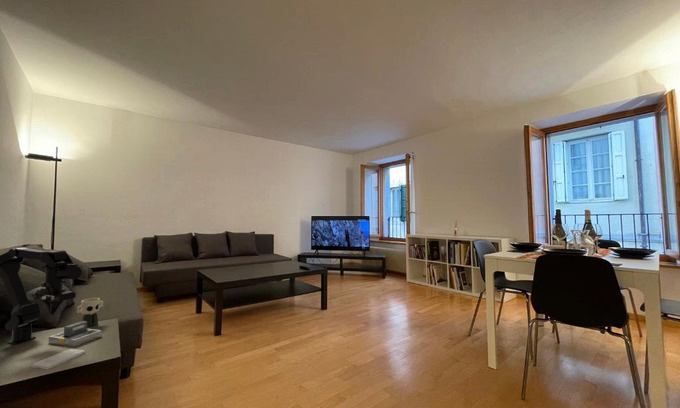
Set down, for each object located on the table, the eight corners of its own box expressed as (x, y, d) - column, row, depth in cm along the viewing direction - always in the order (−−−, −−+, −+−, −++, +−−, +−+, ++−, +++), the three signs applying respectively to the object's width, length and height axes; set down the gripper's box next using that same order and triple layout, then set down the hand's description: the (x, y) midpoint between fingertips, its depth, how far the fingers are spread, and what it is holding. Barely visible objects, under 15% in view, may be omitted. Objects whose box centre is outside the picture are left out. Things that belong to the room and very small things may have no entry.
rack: (47, 343, 121) (48, 336, 121) (76, 333, 131) (76, 327, 132) (73, 347, 117) (74, 340, 117) (101, 336, 128) (101, 330, 128)
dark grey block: (63, 340, 121) (64, 326, 122) (81, 334, 128) (82, 321, 129) (68, 341, 121) (69, 327, 121) (86, 334, 128) (87, 321, 128)
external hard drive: (85, 354, 112) (46, 371, 100) (69, 352, 114) (30, 368, 102) (85, 350, 112) (47, 366, 100) (69, 348, 114) (30, 363, 102)
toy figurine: (79, 330, 134) (81, 303, 135) (72, 328, 137) (73, 301, 138) (106, 323, 144) (107, 297, 145) (98, 321, 147) (99, 296, 148)
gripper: (14, 281, 118) (12, 318, 118) (47, 284, 114) (44, 323, 113) (47, 276, 129) (45, 310, 129) (77, 278, 125) (75, 313, 124)
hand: (52, 314), depth 123 cm, fingers closed
